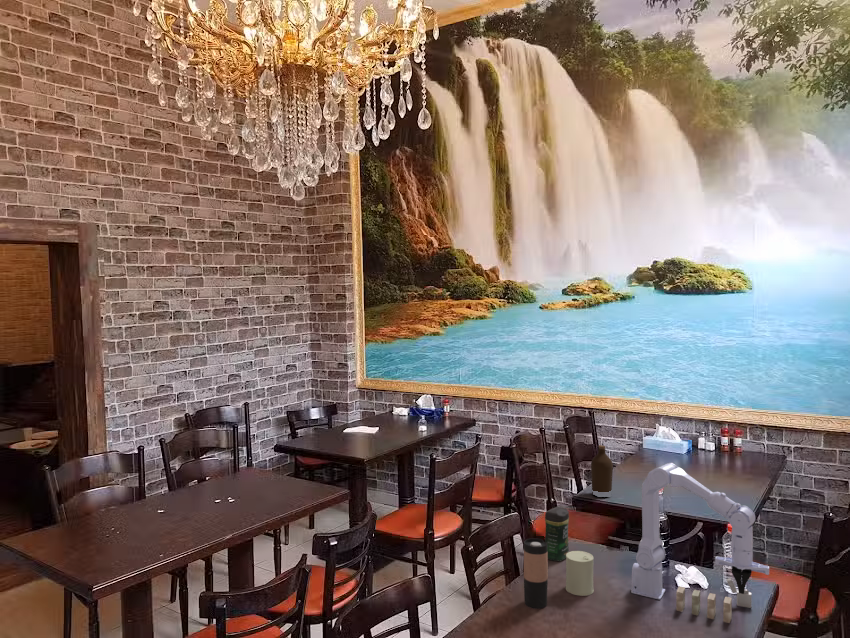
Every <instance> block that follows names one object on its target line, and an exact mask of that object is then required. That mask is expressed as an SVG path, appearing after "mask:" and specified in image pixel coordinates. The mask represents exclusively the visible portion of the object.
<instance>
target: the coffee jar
mask: <svg viewBox="0 0 850 638" xmlns="http://www.w3.org/2000/svg"><path fill="white" fill-rule="evenodd" d="M544 521H545V535H544V536H545V537H544V542H545V543H547V551H548V560H550V561H553V562H554V561H557V562H561V561H563V560H565V559H566V554H567V553H568V552H570V551H569V523H570V522H569V521H570V512H569V510H568V509H567V508H565V507H562V506H556V507H553V508H551V509H549V510H547V511H545V515H544Z"/></svg>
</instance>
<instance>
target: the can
mask: <svg viewBox="0 0 850 638" xmlns="http://www.w3.org/2000/svg"><path fill="white" fill-rule="evenodd" d="M565 559H566V560H565V565H566V566H565V567H566V568H565V569H566V570H565V572H566V575H565V580H566V581H565V590H566V591H567V593H569V594H571V595H574V596H578V597H580V596H581V597H584V596H585V597H586V596H590V595H592V594H593V593H594V591H595V590H594V556H593V554H591V553H589V552H586V551H584V550H583V551H582V550H572V551H569V552H568V553H567V554H566V558H565Z"/></svg>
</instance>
